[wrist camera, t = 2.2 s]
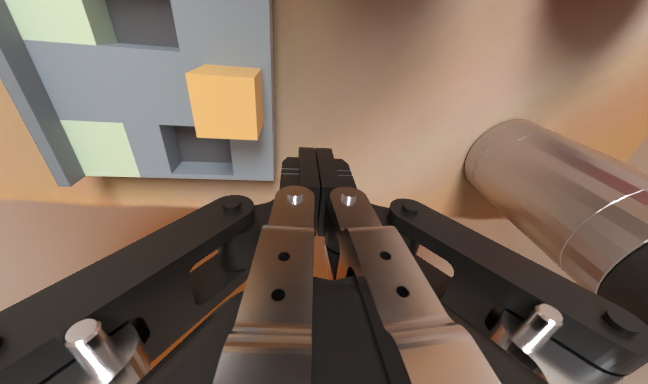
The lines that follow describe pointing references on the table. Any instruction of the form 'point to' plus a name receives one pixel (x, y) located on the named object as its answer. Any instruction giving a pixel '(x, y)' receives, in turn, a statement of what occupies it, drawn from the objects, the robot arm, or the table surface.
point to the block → (226, 101)
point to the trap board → (133, 84)
